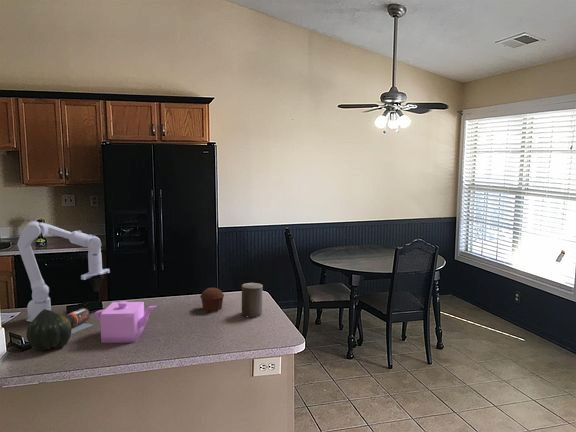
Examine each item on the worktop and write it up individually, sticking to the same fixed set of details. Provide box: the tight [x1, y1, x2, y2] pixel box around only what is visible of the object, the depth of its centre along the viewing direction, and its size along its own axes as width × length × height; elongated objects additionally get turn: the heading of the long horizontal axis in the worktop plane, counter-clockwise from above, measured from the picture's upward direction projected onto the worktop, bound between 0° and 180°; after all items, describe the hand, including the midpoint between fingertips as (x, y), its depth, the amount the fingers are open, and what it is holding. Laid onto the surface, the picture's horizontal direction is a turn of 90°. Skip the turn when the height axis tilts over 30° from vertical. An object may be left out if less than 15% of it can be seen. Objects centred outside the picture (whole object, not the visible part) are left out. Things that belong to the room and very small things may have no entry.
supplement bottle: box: [65, 307, 91, 327], centre depth 194 cm, size 6×6×11 cm
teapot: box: [93, 300, 157, 344], centre depth 183 cm, size 15×25×14 cm, turn 94°
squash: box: [26, 309, 72, 351], centre depth 172 cm, size 14×15×15 cm
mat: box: [71, 322, 94, 335], centre depth 191 cm, size 16×15×1 cm
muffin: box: [200, 287, 225, 313], centre depth 216 cm, size 12×11×10 cm
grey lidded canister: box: [241, 282, 264, 318], centre depth 209 cm, size 10×10×15 cm
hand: (96, 291), depth 209 cm, fingers closed
